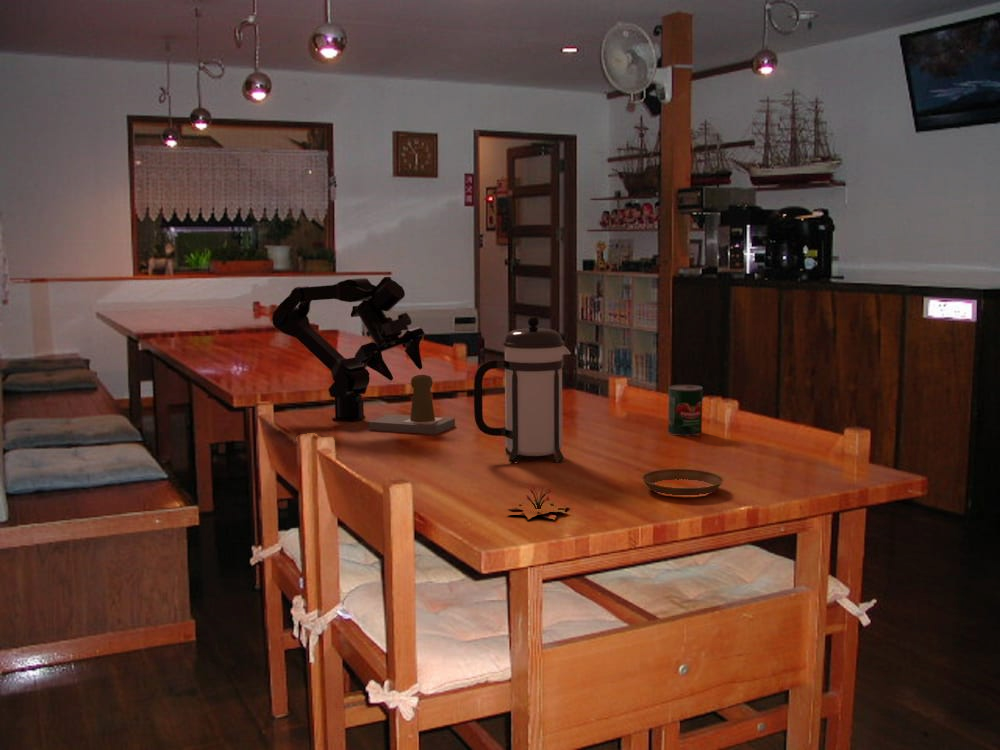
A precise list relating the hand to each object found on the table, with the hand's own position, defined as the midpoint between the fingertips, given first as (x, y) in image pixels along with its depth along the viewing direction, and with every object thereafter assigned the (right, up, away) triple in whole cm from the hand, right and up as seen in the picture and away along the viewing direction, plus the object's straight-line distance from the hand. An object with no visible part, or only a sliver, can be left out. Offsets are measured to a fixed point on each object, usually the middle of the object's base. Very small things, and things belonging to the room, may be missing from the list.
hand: (406, 374), depth 248 cm
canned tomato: (+67, -14, -10) cm, 69 cm away
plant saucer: (+57, -22, -62) cm, 87 cm away
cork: (+4, -11, -2) cm, 12 cm away
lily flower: (+30, -24, -76) cm, 85 cm away
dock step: (+1, -13, -1) cm, 13 cm away
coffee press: (+29, -18, -34) cm, 48 cm away
